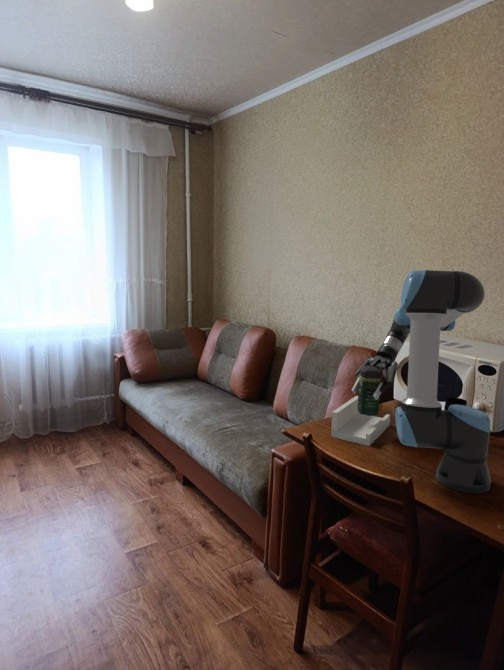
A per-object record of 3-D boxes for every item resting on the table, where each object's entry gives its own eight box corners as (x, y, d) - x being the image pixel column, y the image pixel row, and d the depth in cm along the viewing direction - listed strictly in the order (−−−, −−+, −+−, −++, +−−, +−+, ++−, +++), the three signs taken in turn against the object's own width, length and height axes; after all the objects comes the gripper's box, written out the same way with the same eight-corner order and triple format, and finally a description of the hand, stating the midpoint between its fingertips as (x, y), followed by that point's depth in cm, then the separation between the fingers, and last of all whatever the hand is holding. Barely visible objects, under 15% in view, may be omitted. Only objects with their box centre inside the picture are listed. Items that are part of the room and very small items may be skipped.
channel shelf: (369, 446, 159) (370, 420, 157) (330, 436, 167) (332, 411, 165) (389, 425, 180) (391, 402, 179) (354, 417, 188) (356, 395, 187)
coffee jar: (380, 417, 166) (383, 370, 163) (359, 416, 167) (362, 369, 164) (375, 408, 176) (378, 364, 173) (355, 408, 176) (358, 363, 173)
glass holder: (448, 431, 175) (451, 395, 173) (483, 443, 164) (487, 405, 161) (435, 435, 170) (439, 399, 167) (471, 448, 159) (476, 409, 156)
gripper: (417, 360, 170) (392, 407, 162) (369, 351, 186) (344, 393, 178) (411, 348, 166) (385, 396, 158) (363, 340, 182) (337, 383, 174)
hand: (364, 395), depth 168 cm, fingers closed on coffee jar, 9 cm apart
